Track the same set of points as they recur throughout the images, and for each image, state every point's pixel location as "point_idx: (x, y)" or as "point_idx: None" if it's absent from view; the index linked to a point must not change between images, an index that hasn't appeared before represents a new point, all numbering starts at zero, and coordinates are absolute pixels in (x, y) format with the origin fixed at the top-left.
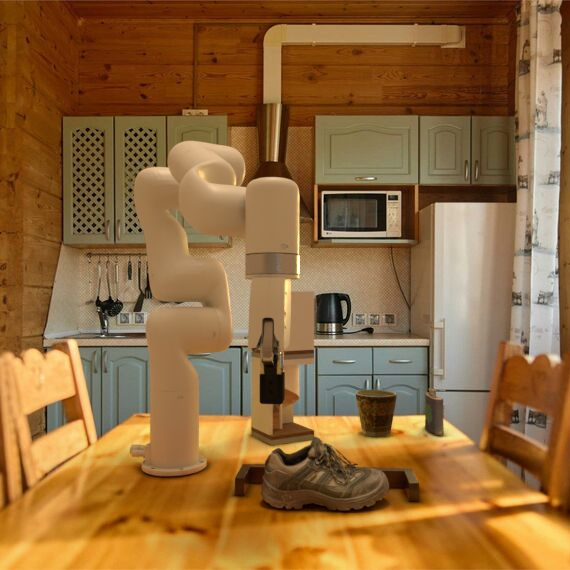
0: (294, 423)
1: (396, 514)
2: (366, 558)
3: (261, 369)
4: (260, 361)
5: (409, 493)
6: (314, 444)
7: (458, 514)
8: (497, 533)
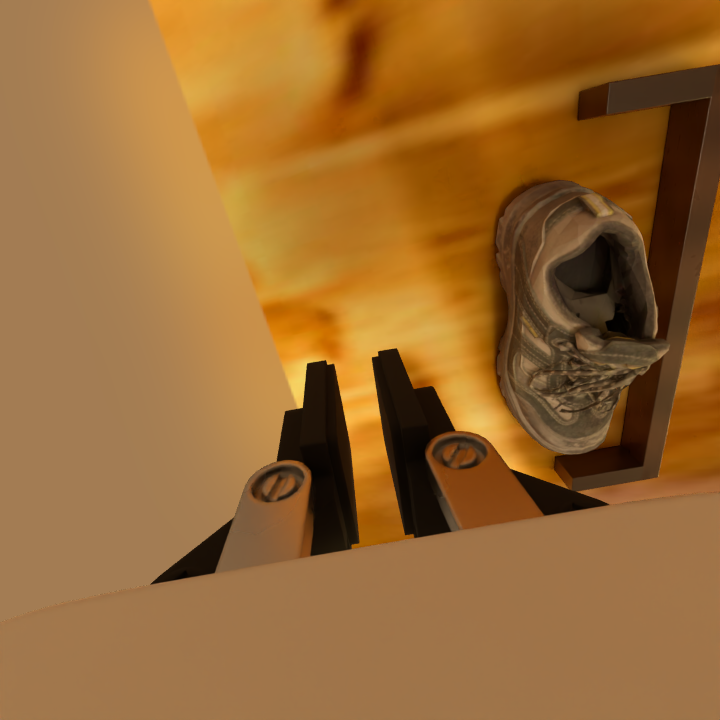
0: None
1: (496, 443)
2: None
3: (244, 502)
4: (226, 548)
5: (562, 466)
6: (608, 354)
7: None
8: None
